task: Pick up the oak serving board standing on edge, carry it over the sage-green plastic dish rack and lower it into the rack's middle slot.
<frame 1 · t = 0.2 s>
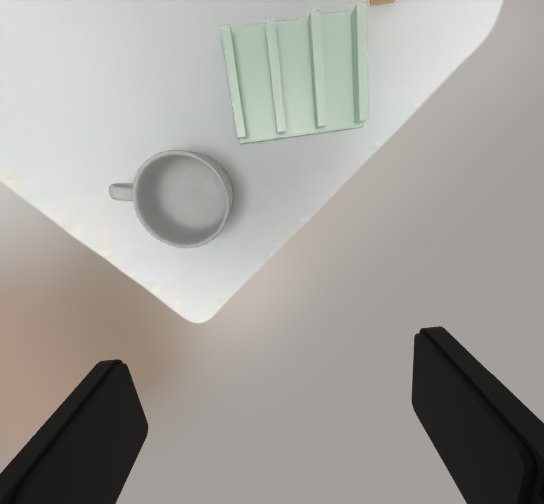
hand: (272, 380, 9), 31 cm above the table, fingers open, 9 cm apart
dish rack: (295, 82, 33), on the table
teacup: (187, 190, 37), on the table
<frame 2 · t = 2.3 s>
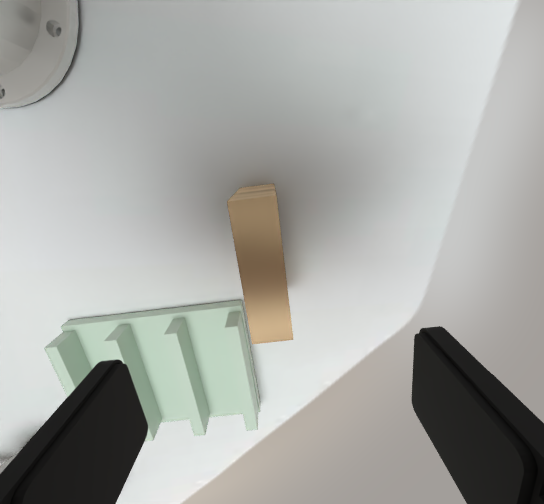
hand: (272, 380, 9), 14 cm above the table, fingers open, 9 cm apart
dish rack: (170, 364, 26), on the table
oak board: (264, 241, 22), on the table
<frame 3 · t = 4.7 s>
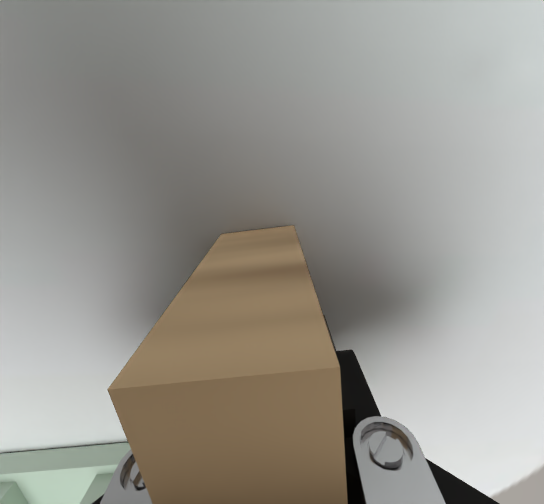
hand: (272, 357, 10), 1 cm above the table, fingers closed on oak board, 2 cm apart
oak board: (272, 336, 11), on the table, touching gripper
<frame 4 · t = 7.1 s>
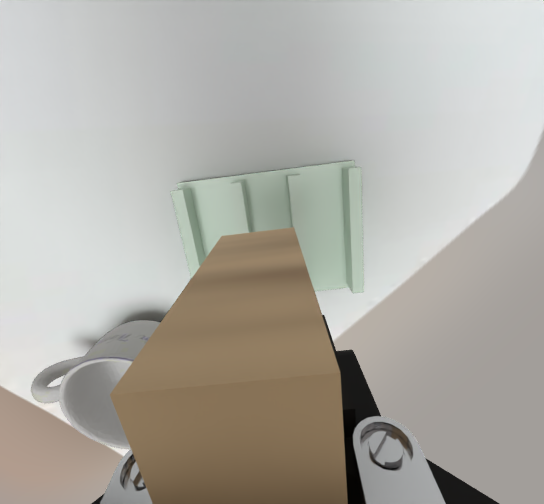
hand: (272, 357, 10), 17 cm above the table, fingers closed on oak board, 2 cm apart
dish rack: (272, 235, 26), on the table
teacup: (144, 344, 31), on the table
oak board: (273, 338, 11), point 16 cm above the table, touching gripper
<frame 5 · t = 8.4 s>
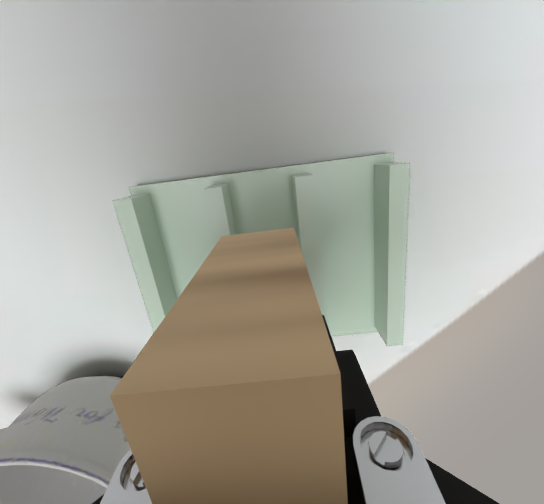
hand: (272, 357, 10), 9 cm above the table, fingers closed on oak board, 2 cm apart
dish rack: (271, 260, 19), on the table
teacup: (100, 400, 23), on the table
oak board: (273, 338, 11), point 8 cm above the table, touching gripper
when the fingers open (4 cm above the table, at t = 9.7 s): oak board drops 1 cm, resting on dish rack.
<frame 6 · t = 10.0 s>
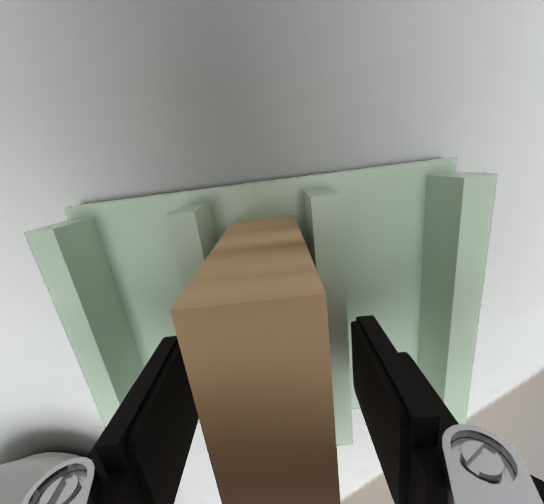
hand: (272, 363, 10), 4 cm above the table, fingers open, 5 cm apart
dish rack: (272, 305, 13), on the table
teacup: (51, 477, 18), on the table
oak board: (275, 314, 13), point 1 cm above the table, touching dish rack
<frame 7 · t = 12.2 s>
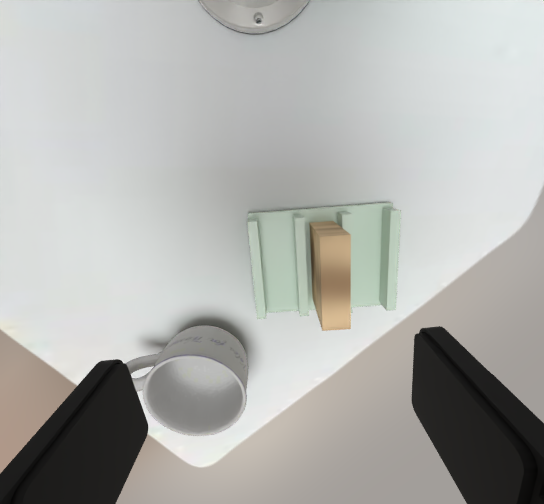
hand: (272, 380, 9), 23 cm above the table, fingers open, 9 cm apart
dish rack: (319, 258, 32), on the table
teacup: (199, 347, 36), on the table
oak board: (322, 260, 31), point 1 cm above the table, touching dish rack
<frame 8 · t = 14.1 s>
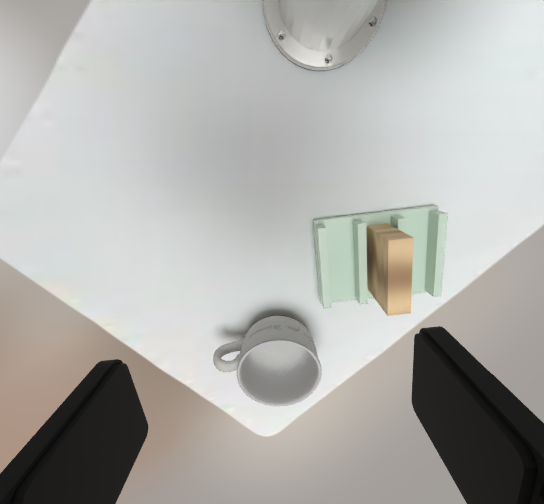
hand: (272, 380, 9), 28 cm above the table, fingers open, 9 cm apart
dish rack: (373, 255, 37), on the table
teacup: (267, 334, 42), on the table
oak board: (376, 257, 36), point 1 cm above the table, touching dish rack
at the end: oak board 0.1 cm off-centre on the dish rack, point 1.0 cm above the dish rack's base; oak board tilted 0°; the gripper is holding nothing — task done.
